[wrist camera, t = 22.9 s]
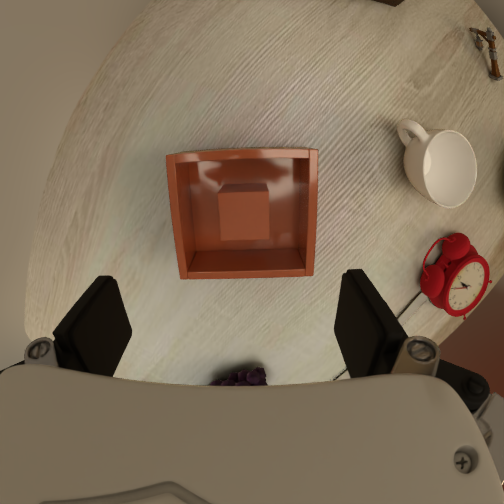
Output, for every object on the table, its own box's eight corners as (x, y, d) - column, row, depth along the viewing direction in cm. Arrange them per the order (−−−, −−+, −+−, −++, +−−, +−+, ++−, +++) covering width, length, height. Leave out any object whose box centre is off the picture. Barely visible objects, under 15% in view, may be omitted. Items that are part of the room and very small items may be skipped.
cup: (416, 206, 28) (449, 224, 22) (364, 145, 26) (393, 149, 20) (450, 162, 26) (486, 172, 20) (403, 99, 23) (437, 95, 17)
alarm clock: (461, 330, 31) (429, 308, 25) (439, 306, 37) (399, 278, 31) (500, 276, 28) (480, 232, 22) (474, 256, 34) (444, 210, 27)
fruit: (273, 357, 41) (232, 418, 43) (212, 339, 38) (176, 406, 39) (299, 400, 32) (246, 461, 33) (226, 386, 28) (181, 454, 30)
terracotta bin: (191, 255, 31) (180, 279, 26) (181, 151, 26) (165, 155, 21) (303, 252, 31) (313, 276, 26) (305, 146, 26) (318, 149, 21)
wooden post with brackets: (471, 21, 16) (496, 28, 13) (481, 69, 22) (504, 79, 18) (465, 22, 17) (490, 29, 13) (476, 71, 22) (499, 81, 19)
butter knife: (433, 298, 33) (424, 290, 32) (315, 407, 42) (303, 403, 41) (431, 296, 33) (422, 287, 33) (314, 404, 43) (302, 401, 42)
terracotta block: (225, 226, 29) (220, 241, 25) (222, 184, 27) (217, 192, 23) (267, 224, 29) (269, 239, 25) (266, 183, 27) (269, 191, 23)
